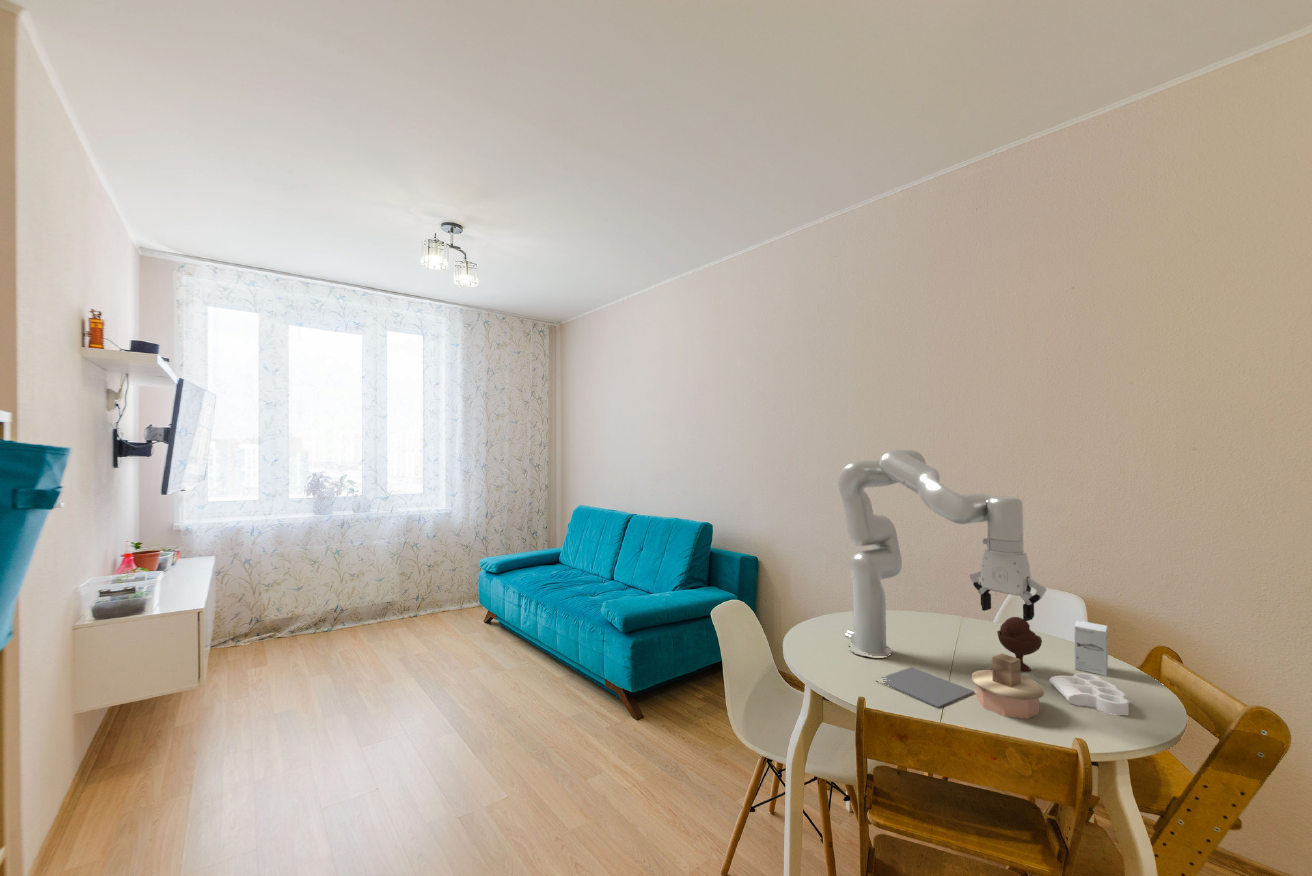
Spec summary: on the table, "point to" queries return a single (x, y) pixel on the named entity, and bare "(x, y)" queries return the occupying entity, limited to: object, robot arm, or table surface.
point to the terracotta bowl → (1008, 705)
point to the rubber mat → (926, 687)
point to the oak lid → (1007, 679)
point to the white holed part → (1092, 693)
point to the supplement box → (1091, 647)
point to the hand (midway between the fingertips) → (1006, 614)
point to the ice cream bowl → (1019, 639)
